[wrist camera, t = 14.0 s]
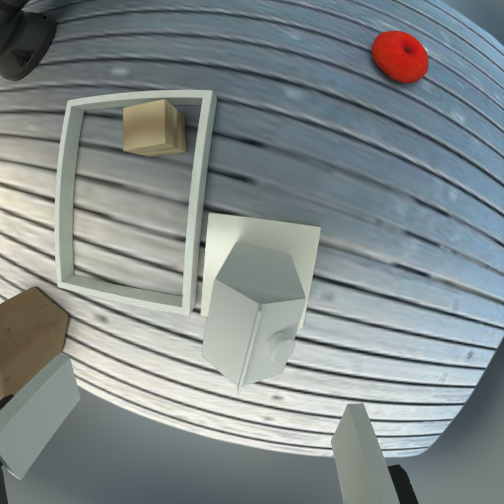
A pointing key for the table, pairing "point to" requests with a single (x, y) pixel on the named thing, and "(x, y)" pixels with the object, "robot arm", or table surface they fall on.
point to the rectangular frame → (195, 211)
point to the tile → (263, 236)
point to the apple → (400, 56)
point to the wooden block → (28, 338)
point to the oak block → (153, 129)
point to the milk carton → (253, 315)
